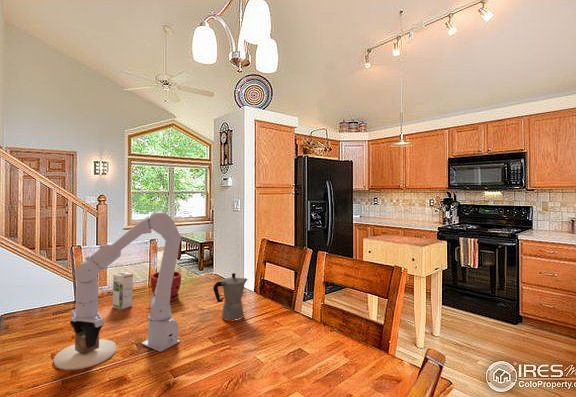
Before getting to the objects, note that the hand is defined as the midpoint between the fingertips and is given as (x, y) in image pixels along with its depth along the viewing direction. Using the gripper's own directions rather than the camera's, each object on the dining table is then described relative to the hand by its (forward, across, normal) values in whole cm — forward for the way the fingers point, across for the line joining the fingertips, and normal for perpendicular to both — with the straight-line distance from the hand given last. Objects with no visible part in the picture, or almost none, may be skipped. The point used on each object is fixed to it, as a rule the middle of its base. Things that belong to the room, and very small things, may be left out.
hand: (86, 344), depth 95 cm
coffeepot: (+4, +18, +46) cm, 50 cm away
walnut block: (+2, 0, 0) cm, 2 cm away
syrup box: (+4, -28, +29) cm, 40 cm away
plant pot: (+4, -20, +45) cm, 49 cm away
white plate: (+3, 0, 0) cm, 3 cm away
